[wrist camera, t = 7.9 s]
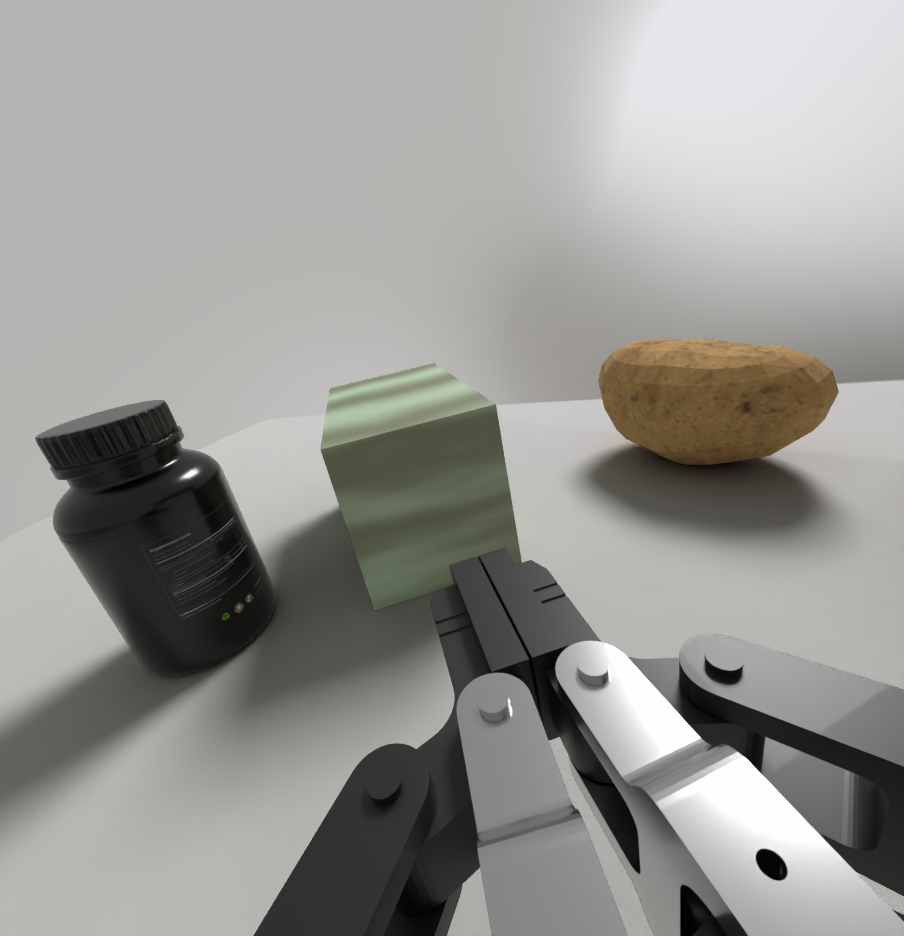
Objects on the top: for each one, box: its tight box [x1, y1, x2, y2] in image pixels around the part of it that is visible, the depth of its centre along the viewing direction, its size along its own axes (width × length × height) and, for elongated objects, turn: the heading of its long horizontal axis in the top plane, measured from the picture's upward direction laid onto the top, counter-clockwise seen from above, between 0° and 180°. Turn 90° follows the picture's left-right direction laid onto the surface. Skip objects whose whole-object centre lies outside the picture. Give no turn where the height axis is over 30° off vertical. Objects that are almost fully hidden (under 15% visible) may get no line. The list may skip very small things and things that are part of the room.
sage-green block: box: [321, 363, 522, 611], centre depth 28 cm, size 15×8×9 cm, turn 13°
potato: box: [598, 338, 839, 465], centre depth 29 cm, size 10×14×8 cm
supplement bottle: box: [36, 400, 276, 676], centre depth 21 cm, size 7×7×12 cm
